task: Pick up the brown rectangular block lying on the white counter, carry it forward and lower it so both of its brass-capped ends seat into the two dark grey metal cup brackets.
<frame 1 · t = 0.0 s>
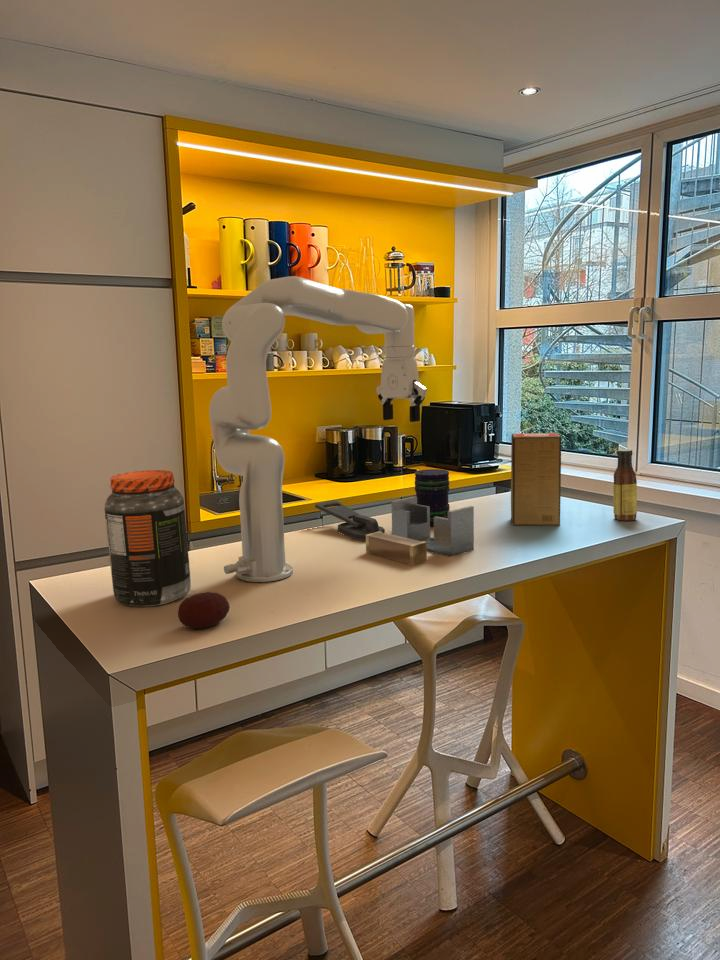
hand: (401, 420, 191), 31 cm above the countertop, tool pointing down, fingers open, 9 cm apart
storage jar: (432, 523, 212), on the countertop
brown rectangular block: (395, 557, 178), on the countertop
food packaging: (534, 522, 209), on the countertop
cup brackets: (432, 546, 187), on the countertop
zipper pull: (349, 532, 205), on the countertop
potato: (205, 626, 137), on the countertop
supplement tub: (152, 597, 154), on the countertop
sauce bottle: (624, 519, 210), on the countertop
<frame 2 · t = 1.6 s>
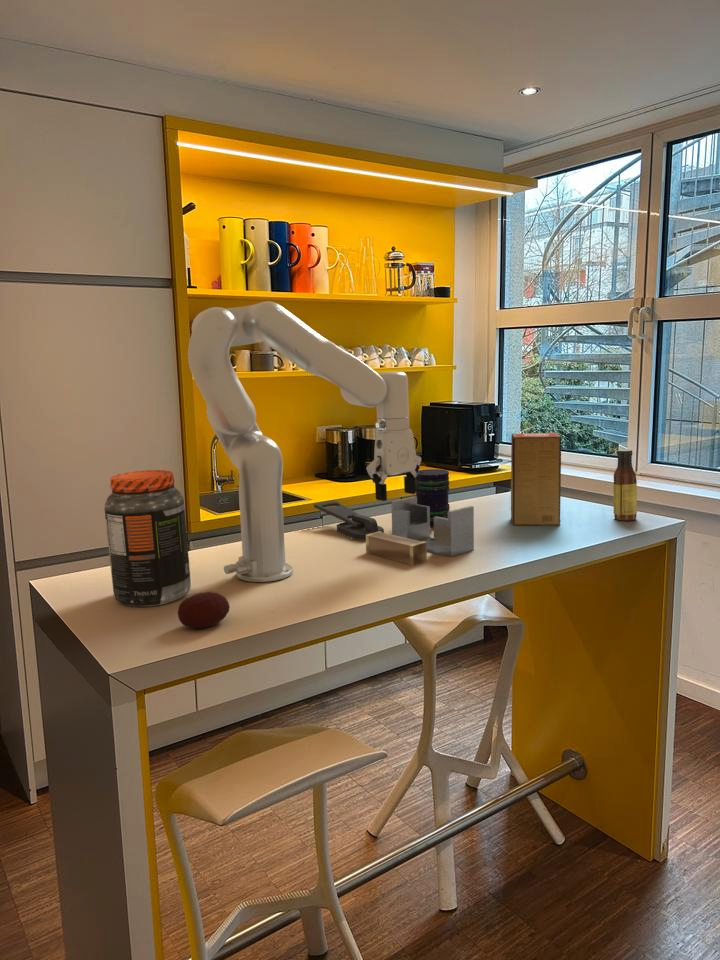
hand: (395, 496, 176), 15 cm above the countertop, tool pointing down, fingers open, 9 cm apart
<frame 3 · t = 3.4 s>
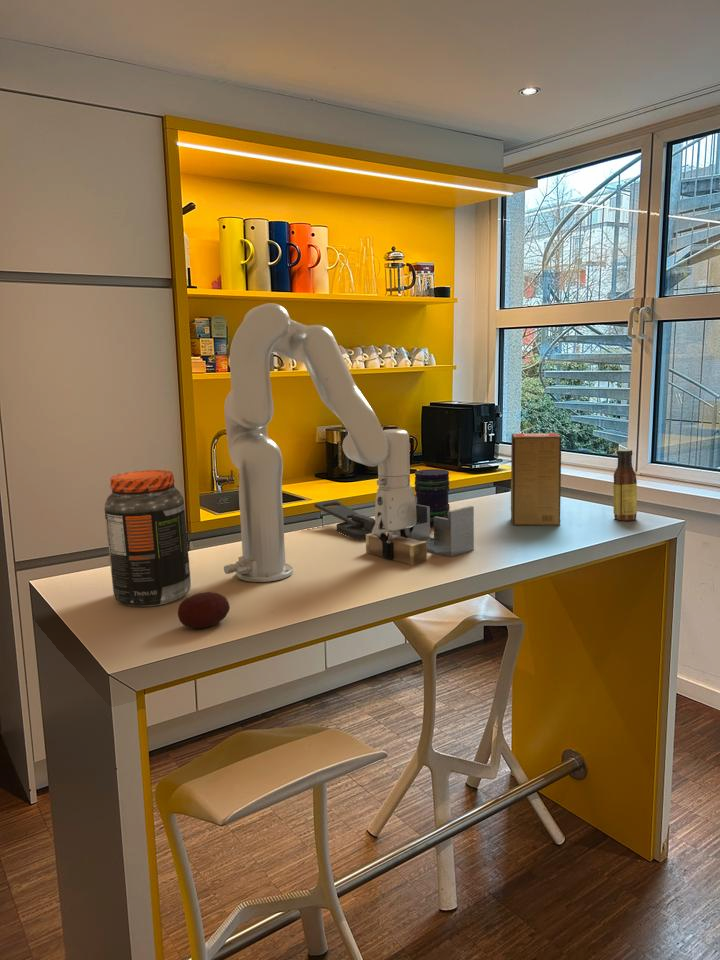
hand: (395, 555, 178), 0 cm above the countertop, tool pointing down, fingers closed on brown rectangular block, 4 cm apart
brown rectangular block: (395, 557, 178), on the countertop, touching gripper
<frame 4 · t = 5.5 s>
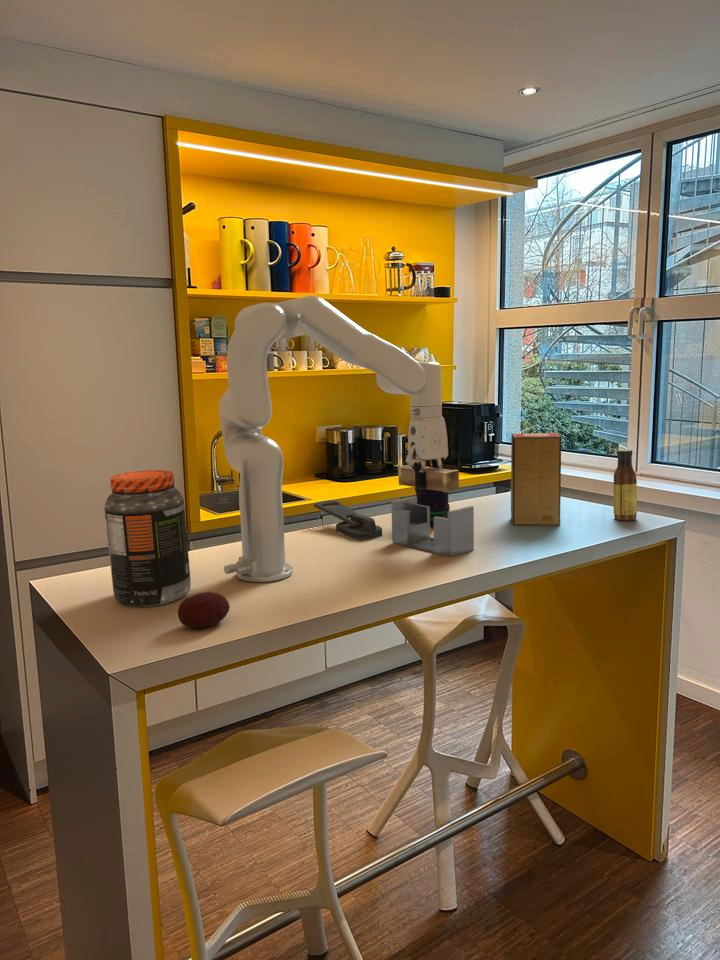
hand: (428, 485, 183), 16 cm above the countertop, tool pointing down, fingers closed on brown rectangular block, 4 cm apart
brown rectangular block: (428, 487, 183), point 15 cm above the countertop, touching gripper
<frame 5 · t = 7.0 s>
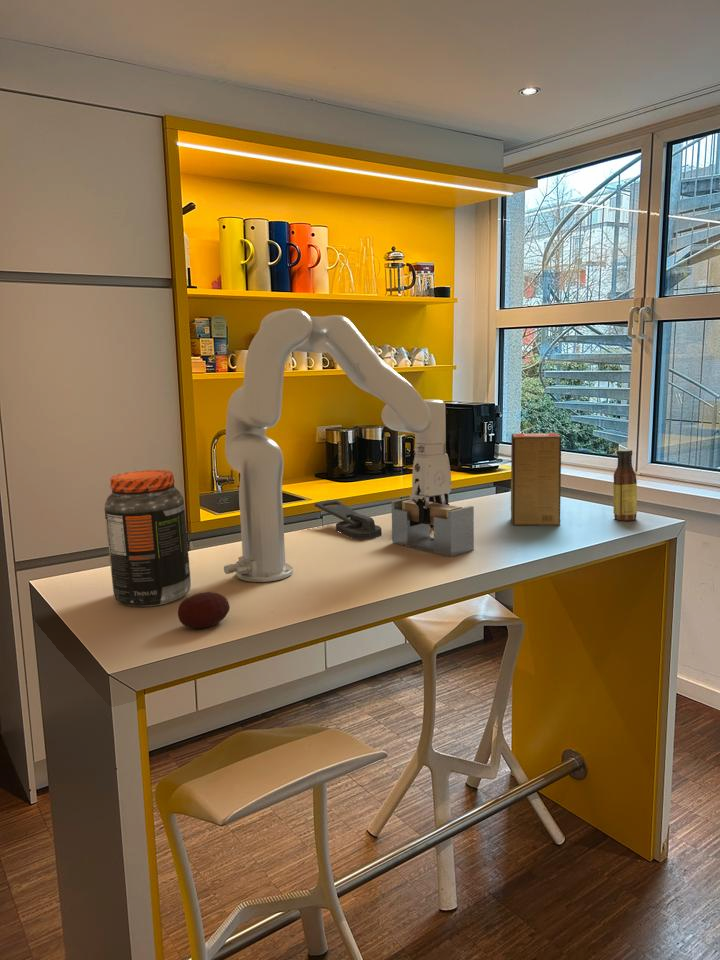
hand: (431, 520, 185), 7 cm above the countertop, tool pointing down, fingers closed on brown rectangular block, 4 cm apart
brown rectangular block: (431, 522, 185), point 6 cm above the countertop, touching gripper
when the fingers open (7 cm above the countertop, at t = 7.2 s): brown rectangular block drops 1 cm, resting on cup brackets.
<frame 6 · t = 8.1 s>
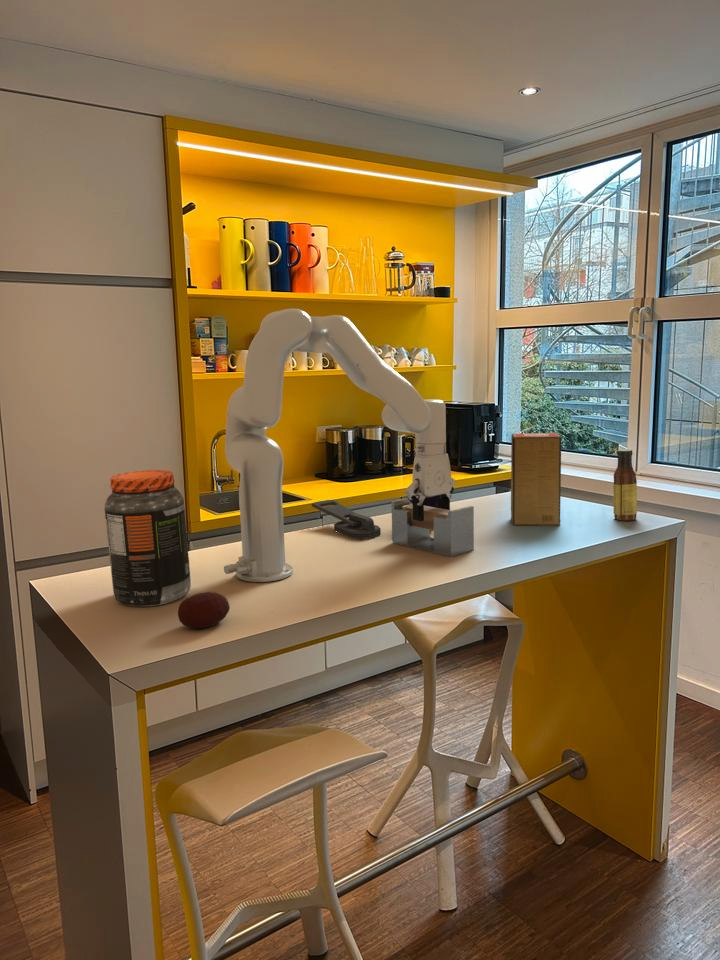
hand: (431, 517, 185), 8 cm above the countertop, tool pointing down, fingers open, 9 cm apart
brown rectangular block: (431, 527, 186), point 5 cm above the countertop, touching cup brackets
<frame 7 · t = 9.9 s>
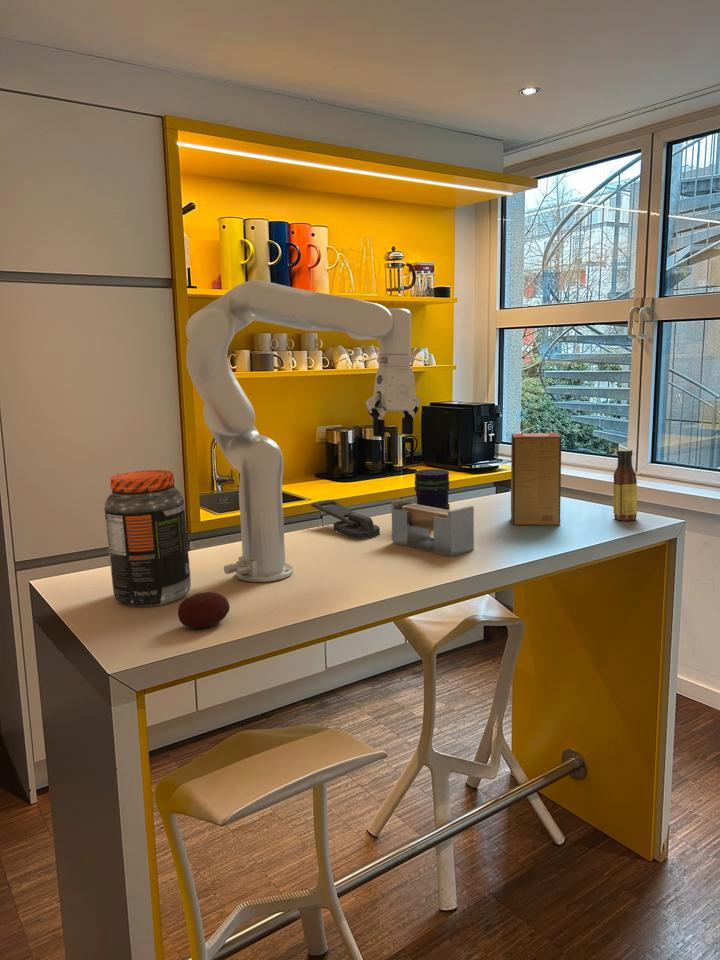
hand: (393, 435, 175), 29 cm above the countertop, tool pointing down, fingers open, 9 cm apart
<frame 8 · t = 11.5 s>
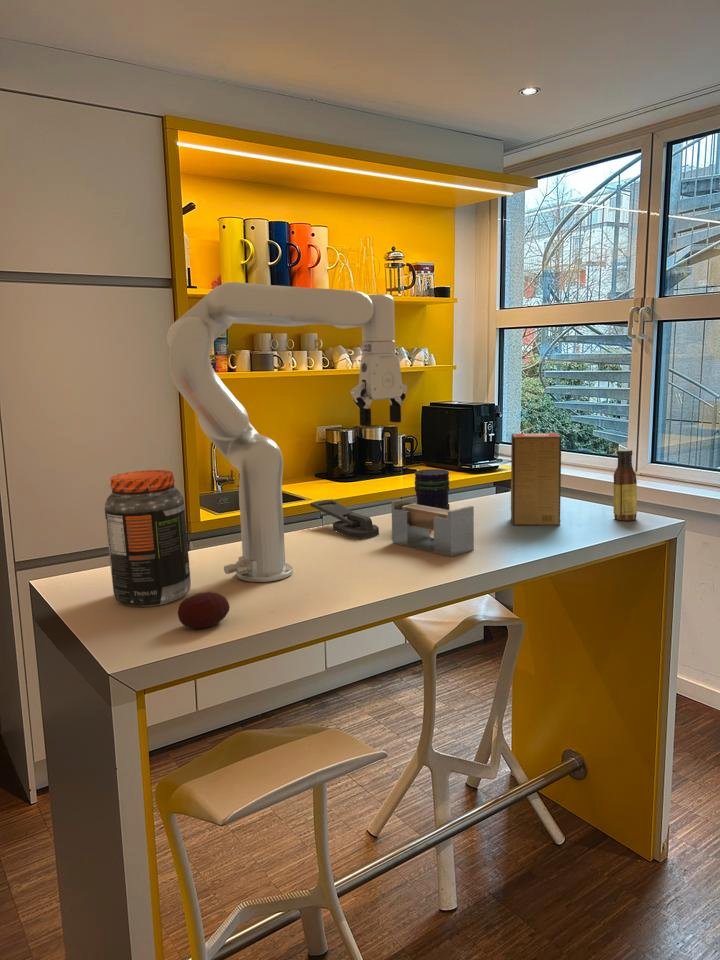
hand: (380, 423, 173), 32 cm above the countertop, tool pointing down, fingers open, 9 cm apart
at the end: brown rectangular block 0.1 cm off-centre on the cup brackets, point 5.0 cm above the cup brackets's base; brown rectangular block tilted 0°; the gripper is holding nothing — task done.
